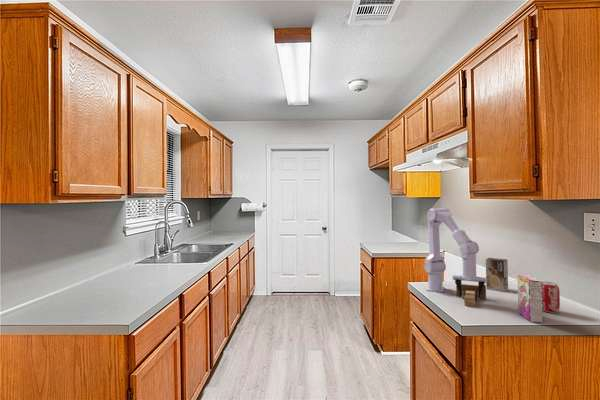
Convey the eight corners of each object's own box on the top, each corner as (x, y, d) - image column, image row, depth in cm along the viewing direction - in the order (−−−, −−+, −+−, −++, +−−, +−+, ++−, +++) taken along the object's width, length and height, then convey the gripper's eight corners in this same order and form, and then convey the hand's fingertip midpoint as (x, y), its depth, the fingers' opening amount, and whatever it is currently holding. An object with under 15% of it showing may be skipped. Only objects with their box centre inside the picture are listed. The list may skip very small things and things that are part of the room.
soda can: (563, 312, 146) (562, 283, 146) (554, 315, 143) (554, 286, 143) (544, 307, 152) (544, 280, 152) (536, 310, 149) (535, 282, 149)
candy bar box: (517, 313, 146) (516, 274, 146) (530, 313, 145) (530, 274, 145) (529, 322, 135) (528, 280, 135) (543, 323, 134) (543, 280, 134)
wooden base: (456, 295, 174) (456, 282, 174) (486, 298, 168) (485, 285, 168) (455, 297, 170) (455, 284, 170) (485, 301, 164) (485, 287, 164)
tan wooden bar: (466, 297, 170) (466, 289, 170) (475, 298, 168) (475, 290, 168) (464, 306, 157) (464, 297, 157) (474, 307, 155) (474, 298, 155)
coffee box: (508, 289, 183) (508, 259, 183) (504, 292, 178) (504, 261, 178) (490, 286, 189) (489, 257, 189) (485, 289, 185) (485, 259, 185)
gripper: (451, 268, 163) (452, 296, 163) (486, 270, 156) (487, 300, 156) (453, 265, 169) (453, 293, 169) (487, 267, 162) (487, 296, 162)
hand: (470, 296), depth 163 cm, fingers open, 7 cm apart
